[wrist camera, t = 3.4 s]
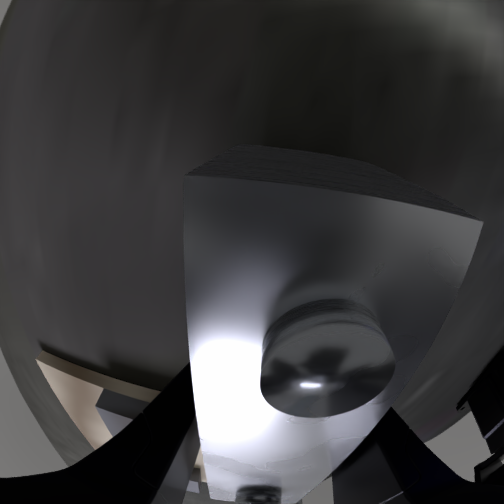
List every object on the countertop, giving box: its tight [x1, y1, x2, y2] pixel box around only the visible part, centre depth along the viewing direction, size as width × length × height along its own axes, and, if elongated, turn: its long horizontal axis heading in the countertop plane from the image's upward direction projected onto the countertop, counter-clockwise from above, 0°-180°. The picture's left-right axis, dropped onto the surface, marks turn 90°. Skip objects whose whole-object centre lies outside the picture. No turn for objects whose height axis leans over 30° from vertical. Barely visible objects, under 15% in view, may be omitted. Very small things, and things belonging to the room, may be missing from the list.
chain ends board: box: [36, 350, 207, 493], centre depth 17 cm, size 18×16×2 cm
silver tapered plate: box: [183, 144, 483, 504], centre depth 7 cm, size 4×12×6 cm, turn 175°
